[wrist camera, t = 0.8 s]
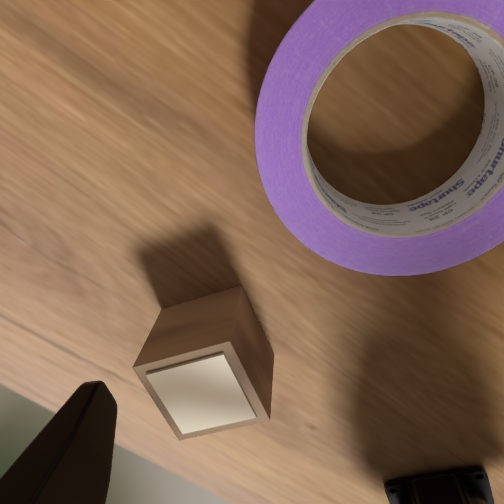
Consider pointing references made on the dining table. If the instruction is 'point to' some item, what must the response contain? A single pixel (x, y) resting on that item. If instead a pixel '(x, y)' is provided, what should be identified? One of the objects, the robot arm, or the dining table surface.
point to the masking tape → (371, 215)
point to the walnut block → (208, 365)
